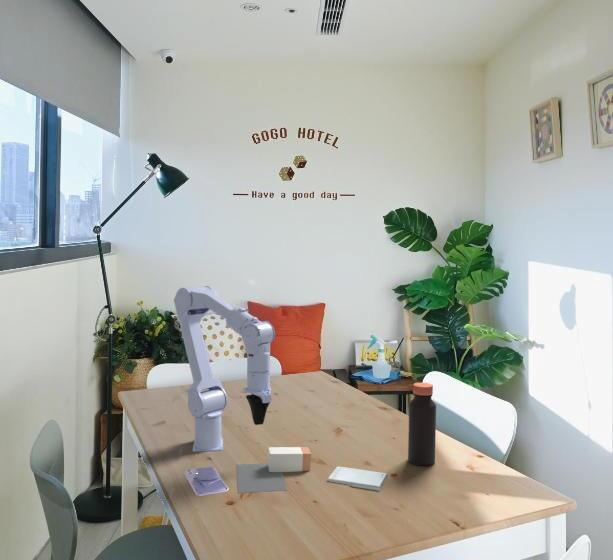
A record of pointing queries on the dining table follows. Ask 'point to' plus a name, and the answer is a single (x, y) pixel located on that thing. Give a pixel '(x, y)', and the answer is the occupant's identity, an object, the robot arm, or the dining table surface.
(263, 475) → the mat
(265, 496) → the dining table surface
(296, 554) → the dining table surface
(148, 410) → the dining table surface
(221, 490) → the mobile phone
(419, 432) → the bottle
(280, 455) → the block
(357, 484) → the hard drive
